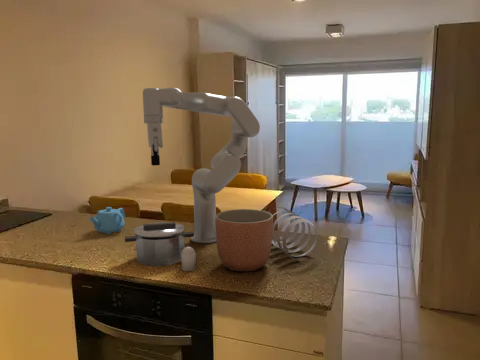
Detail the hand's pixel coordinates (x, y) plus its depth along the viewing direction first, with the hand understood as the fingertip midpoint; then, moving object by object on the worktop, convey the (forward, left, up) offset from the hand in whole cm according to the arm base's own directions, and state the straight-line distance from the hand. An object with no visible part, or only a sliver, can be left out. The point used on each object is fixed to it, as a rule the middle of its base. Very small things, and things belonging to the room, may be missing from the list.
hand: (155, 165), depth 173 cm
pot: (0, +14, -35) cm, 37 cm away
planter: (-29, +31, -35) cm, 55 cm away
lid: (0, +14, -24) cm, 28 cm away
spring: (-51, +18, -35) cm, 64 cm away
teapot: (+21, -29, -35) cm, 50 cm away
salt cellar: (-9, +28, -35) cm, 45 cm away
